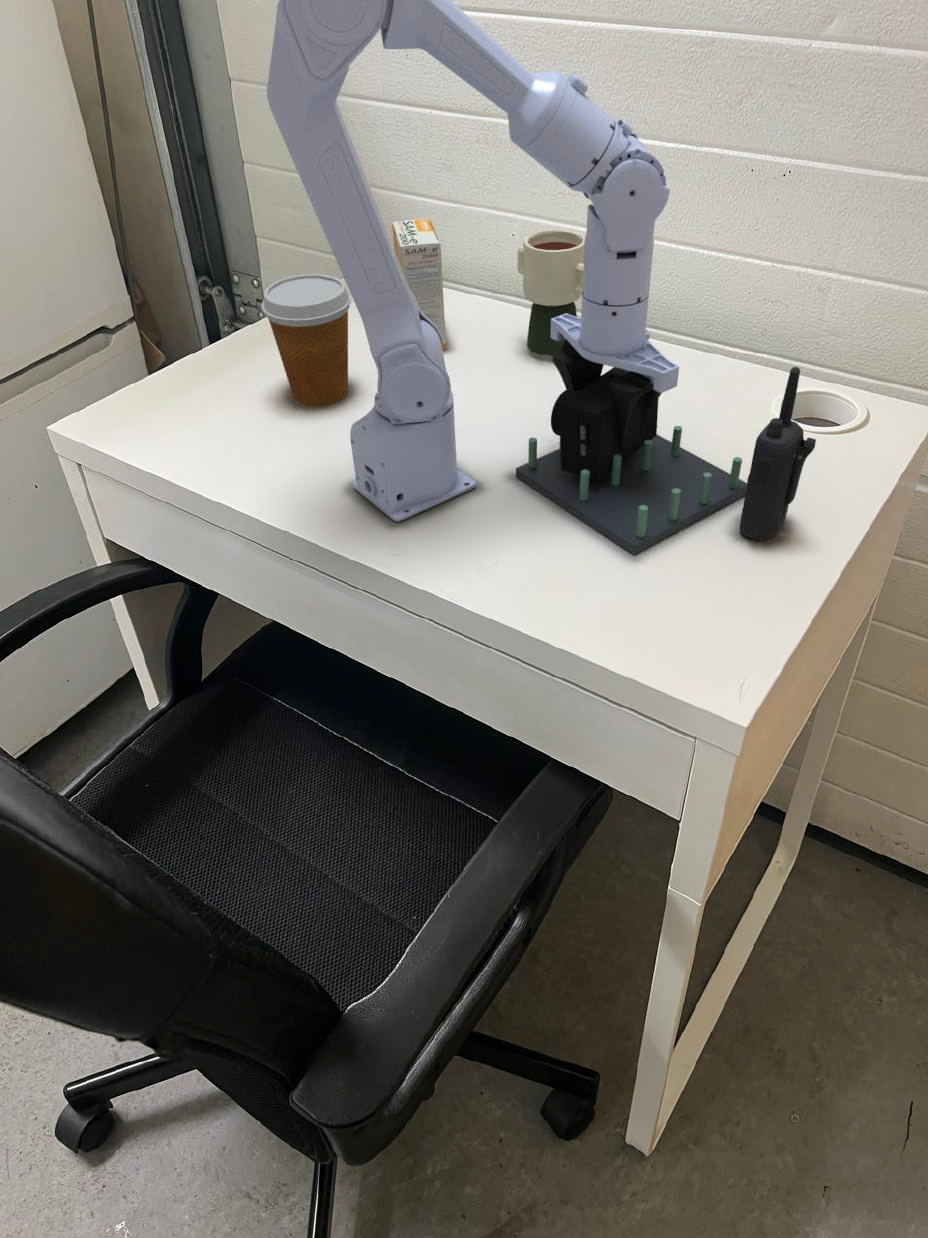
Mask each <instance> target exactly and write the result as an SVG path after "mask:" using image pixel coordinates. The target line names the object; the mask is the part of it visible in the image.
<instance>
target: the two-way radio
mask: <svg viewBox="0 0 928 1238" xmlns="http://www.w3.org/2000/svg"><path fill="white" fill-rule="evenodd" d="M800 375H801V368H799V367H797V366H792V368H791V369H790V371H789V375H788V378H787V383H786V387H785V391H784V395H783V398H782V399H783V400H782V403H781V407H780V411H779V416H778V417H774V418H772V419H770V421H769V423H768V424H767V425H765V427H764V428H763V429H762V430H761V431H760V433H759V434H758V436H757V437H756V440H755V445H754V449H753V454H752V459H751V464H750V468H749V474H748V476H747V479H746V483H747V485H748V486H747V490H746V491H745V494H744V496H743V498H744V500H743V506H742V509H741V510H742V511H741V515H740V523H739V531H740V532H741V534H742V535H744V536H745V537H748V538H750V539H753V540H768V539H772V538H773V537H775V536H776V535H777V534H778V533H779V532H780V530H781V529H782V528H783V526H784V524H785V522H786V519H787V514H788V512H789V511H788V510H789V506H790V504H792V503H793V501H794V499H795V498H796V495H797V491H798V488H799V487H798V486H799V482H800V478H801V474H802V473H803V472H802V471H803V467H804V464H805V462H806V460H807V458H808V457H809V455H810V454H811V453H813V452H814V449H815V447H816V442H817V440H816V439H815V438H812V437H807V438H806V439H805V438H804V429H803V427H801V425H799V423H797V422H795V421H794V420H792V418H793V414H794V413H793V412H794V408H795V403H796V397H797V391H798V387H799V380H800Z"/></svg>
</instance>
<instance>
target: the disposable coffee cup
mask: <svg viewBox="0 0 928 1238" xmlns="http://www.w3.org/2000/svg"><path fill="white" fill-rule="evenodd" d="M351 303H352V295H351V293H350V291H349V290H348V289H347V287H346V283H345V282H344V281H343V280H341V279H340V278H338V277H336V276H333V275H328V274H322V273H321V274H320V273H309V274H297V275H293V276H287V277H284V278H282V279H279V280H276V281H274V282H273V283H271V284H269V285H268V286H267V287H266V288H265V290H264V292H263V300H262V302H261V305H260V306H261V307H260V308H261V310H262V312H263V314H264V315H265V317H266V318H267V319H268V322H269V325H270V327H271V331H272V334H273V337H274V341H275V344H276V347H277V351H278V353H279V356H280V359H281V362H282V366H283V369H284V372H285V375H286V379H287V381H288V384H289V387H290V388H289V389H290V391H291V393H292V397H293V399H294V401H295V402H296V403H299V404H301V405H304V406H309V407H320V406H321V407H322V406H328V405H331V404H335V403H337V402H339V401H341V400H343V399H344V398H345V397H346V396H347V395H348V393H349V309H350V305H351Z"/></svg>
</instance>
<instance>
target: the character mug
mask: <svg viewBox="0 0 928 1238" xmlns="http://www.w3.org/2000/svg"><path fill="white" fill-rule="evenodd" d="M585 237H586V235H584V234H582V233H581V232H578V231H577V230H570V229H559V228H558V229H555V228H554V229H553V228H552V229H551V228H550V229H544V230H538V231H535V232H531V233H530V234H529V235H527V236H525V237H524V240H523V245H519V246H518V249H517V272H518V274H520V275H522V287H523V288H522V290H523V295H524V297H525V299H526V300H527V301H529V302H530V303H532V304H531V309H530V315H529V316H530V317H529V321H528V322H529V323H528V330H527V339H526V347H527V348H528V350H529V351H530V352H531V353H533V354H536V355H537V356H553V354H554V353H555V352H557V351H559V350H562V347H563V346H564V340H563V339H562V340H561V341H556V340H554V339H552V338H551V319H552V318H555V317H558V316H560V315H563V314H566V313H567V314H569V315H572V316H575V317H578V314H577V313H578V312H577V305H576V304H575V302H576V301H578V300H579V299H580V298H582V290H583V268H584V244H585Z"/></svg>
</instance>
